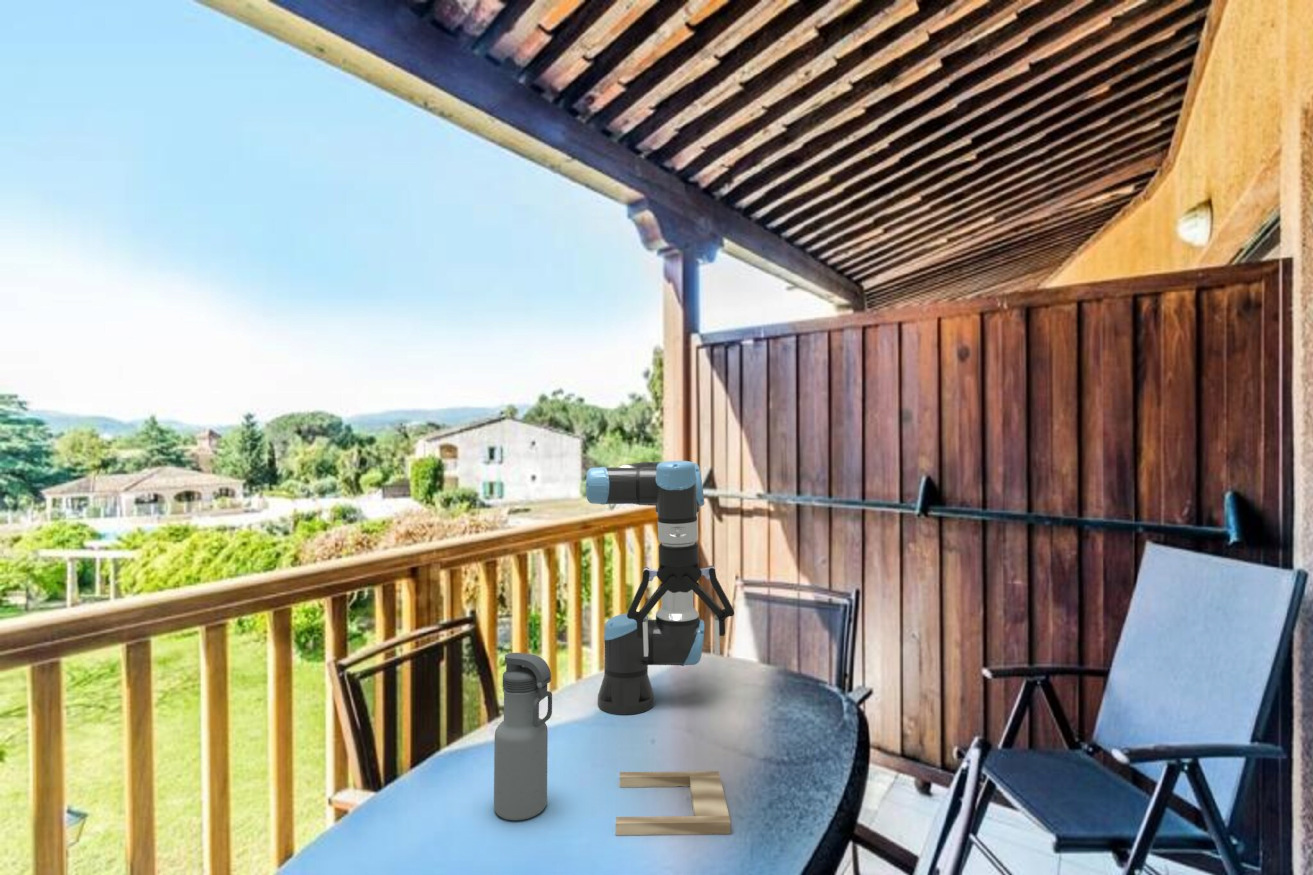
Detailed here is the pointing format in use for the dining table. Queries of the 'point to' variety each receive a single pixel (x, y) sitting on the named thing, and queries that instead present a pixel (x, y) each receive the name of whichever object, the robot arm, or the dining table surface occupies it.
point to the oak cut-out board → (706, 817)
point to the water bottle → (522, 739)
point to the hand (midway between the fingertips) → (681, 653)
